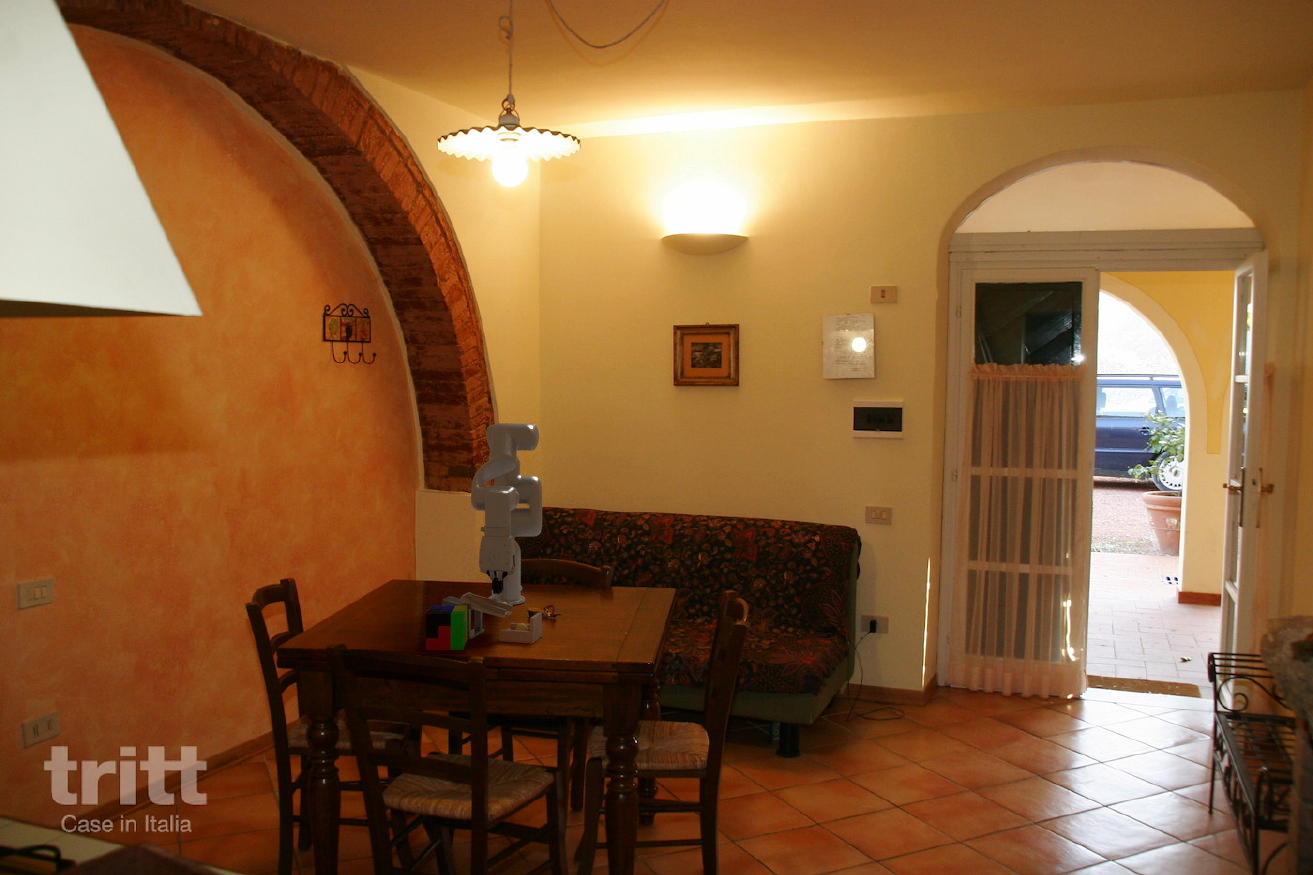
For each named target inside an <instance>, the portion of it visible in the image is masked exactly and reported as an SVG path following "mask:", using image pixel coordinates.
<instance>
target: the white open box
mask: <svg viewBox="0 0 1313 875" xmlns="http://www.w3.org/2000/svg"><path fill="white" fill-rule="evenodd" d="M518 624H519V623H518V622H510V623H509V627H508V628H507V629H503V628H502V629H499V642H505V643H506V642H507V643H520V644H522V643H523V644H532V645H533V644H534V643H535V642H536V641H538V640H540V639H541V638H542V637H543V636H544V634H543V632H544V629H543V628H544V625H543V612H537V613H536V614H534V615H533V616H531V617H530V619H529V623H524V624H525V625H526V626H527V628H528V631H518V630H515V627H516V626H517V625H518ZM540 637H541V638H540Z"/></svg>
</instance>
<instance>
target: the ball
mask: <svg viewBox="0 0 1313 875" xmlns="http://www.w3.org/2000/svg"><path fill="white" fill-rule="evenodd" d="M525 624H526V623H523V622H520V623H519V624H518V625H517V626H516V627H515V630H518V631H528V628H527V626H526V625H525Z"/></svg>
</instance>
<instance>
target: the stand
mask: <svg viewBox="0 0 1313 875" xmlns="http://www.w3.org/2000/svg"><path fill="white" fill-rule="evenodd" d="M463 606H467V640H472V639H474V638H475V637H477V636H479V635H481V634H483V633H484V632H486V631H485V630H486V629H485V628H483V612H481V611H477V610H474V609H473V610H474V611H473V612H474V615H473V617H474V622H473V627H474V628H473V629H472V627H471V626H472V622H471V621H472V620H471V619H472V612H471V611H472V610H471V604H469V603H464V604H463Z"/></svg>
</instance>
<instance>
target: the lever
mask: <svg viewBox="0 0 1313 875" xmlns="http://www.w3.org/2000/svg"><path fill="white" fill-rule="evenodd" d="M464 603H469V604H471V611H473V610H477V611H481V612H482V613H483V614H484V613H485V614H488V615H493V616H495V617H499V618H502V619H505V618H507V617H509V616H510V615H511V614H513V608H514V605H510V604H507V602H503V601H502V600H499V599H494V600H492V599H489V598H488V597H485V596H481V595H477V594H475V593H472V592H471V591H468V592H467V593H464V594H462V595H461V596H460V598H458V597H454V596H451V595H450V596H448V597H445V598H443V599H442V600H441V606H463V604H464Z"/></svg>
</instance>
